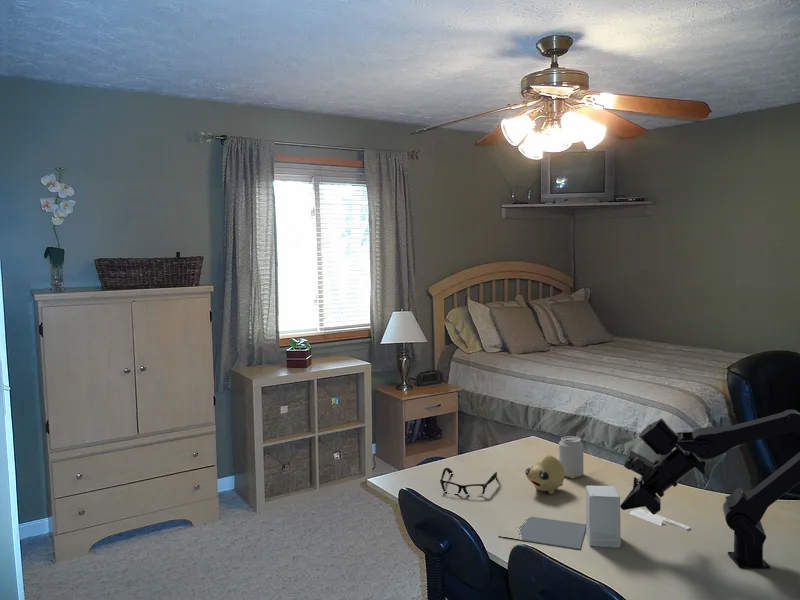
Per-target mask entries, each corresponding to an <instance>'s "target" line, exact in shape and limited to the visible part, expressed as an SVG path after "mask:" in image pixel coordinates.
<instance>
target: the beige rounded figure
mask: <svg viewBox="0 0 800 600" xmlns="http://www.w3.org/2000/svg"><path fill="white" fill-rule="evenodd" d="M525 476H526V478H527V480H528V481H530V482H531V483H532V485H533V486H534V488H535V490H539V491H542V492H548V493H549V495H553V494H554V493H555V491H556V490H557V489H558V488H560V487H562V486H563V485H564V480H565V478H566V477H565V471H564V467H563V465H562V464H561V462H560V461H559V458H557V457H555V456H553V455H548V454H547V455H545V456H543V457H542V458H541V459H540V460H537V462H536V463H535V464H533V465H532V466H531V467H528V468H526V469H525Z"/></svg>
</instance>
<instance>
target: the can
mask: <svg viewBox="0 0 800 600" xmlns="http://www.w3.org/2000/svg"><path fill="white" fill-rule="evenodd" d="M558 460H559V461H560V462H561V464H562V465H563V467H564V471H565V476H566V477H565V478H567V477H579V478H581V477H582V476H583V475H584V473H585V472H584V470H585V469H584V443H583V442H582V439H581V438H580V437H578V436H572V435H570V436H569V435H568V436H562V437H560V441H559V443H558ZM580 476H581V477H580Z"/></svg>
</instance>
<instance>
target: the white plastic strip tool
mask: <svg viewBox="0 0 800 600" xmlns="http://www.w3.org/2000/svg"><path fill="white" fill-rule="evenodd" d="M628 514H629V515H632V516H634V517H637V518H639V519H642V520H644V521H648V522H650V523H653V524H655V525H658V526H659V527H660V526H661V527H662V526H663V525H667V524H670V525H673V526H675V527H677V528H680V529H682V530H683V531H684V530H685V531H689V530H691V526H688V525H686V524H683V523H679V522H677V521H675V520H671V519H669V518H667V517H665V516H662V515H658V514H657V513H656V514H655V515H654V514H652V513H651V512H650V511H649V510H646V509H643V508H642V507H638V508H634V509H631V511H630V512H629V513H628Z"/></svg>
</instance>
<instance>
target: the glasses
mask: <svg viewBox="0 0 800 600" xmlns="http://www.w3.org/2000/svg"><path fill="white" fill-rule="evenodd" d="M452 472H453V470H452V469H451V468H449V467H445V468H444V469H443V471H442V474H441V478H440V480H439V482H440V485H441V488H442V490H443V492H444V491H447V490H446V488H445V486H444V485H445V484H450V485H454V486H457V487H458V491H457V493H459V494H460V493H462V491H463V492H464V494H465V495H466V494H469V492H468V491H467V488H468V487H481V488H482V491H481V492H482V493H481V494H483V495H484V494H485V492H486V489H487V487H488V485H489V484H491V483H492V482H493V481H494V480H496V479H495V478H498V472H497V471H495V472H494V473H493V474H492V476H490V478H489V479H488V480H487V482H485V483H473V484H471V483H470V484H465V485H461V484H458V483H455V482H452V481H447V480H444V477H445V475H446V473H448V474H450V473H452ZM453 473H454V472H453Z"/></svg>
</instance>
